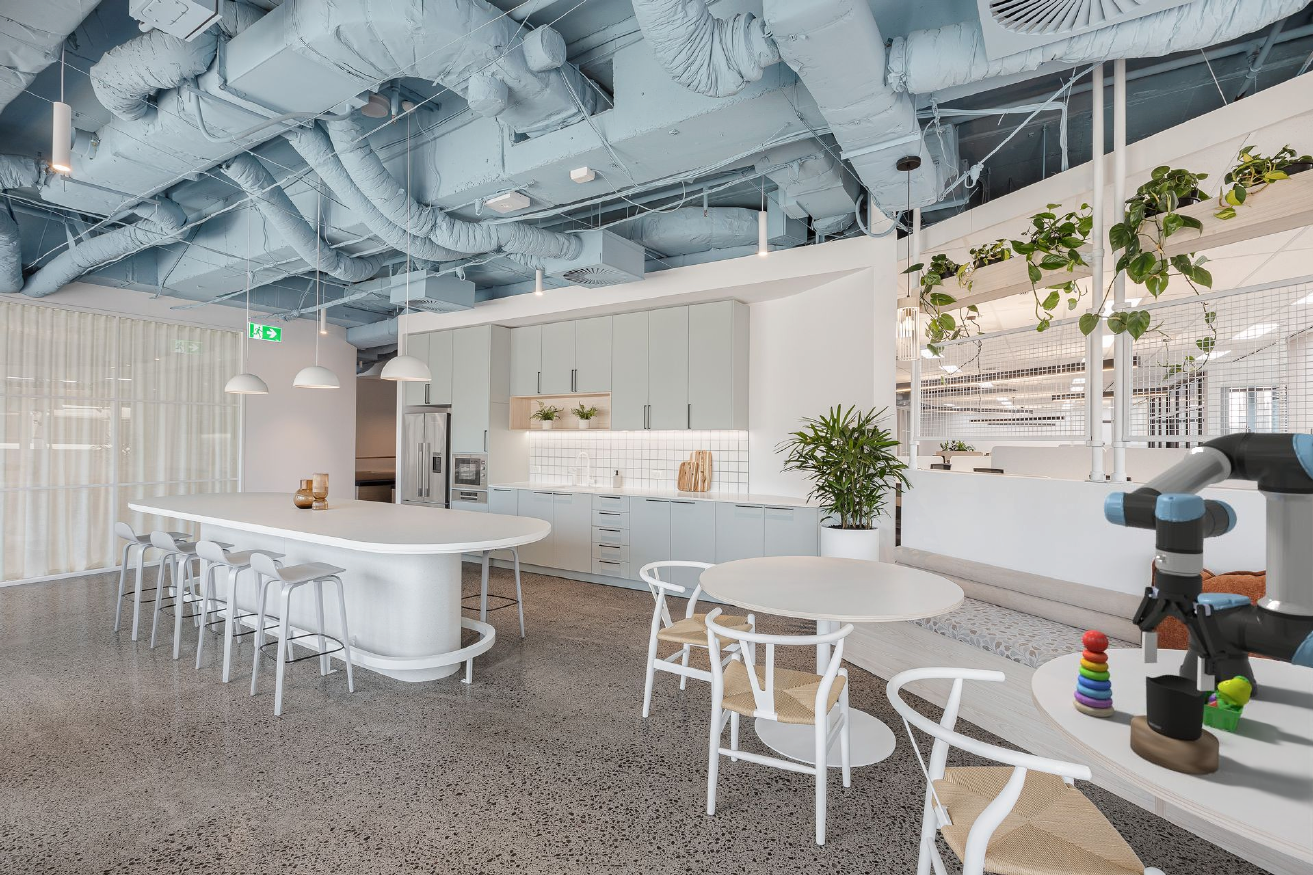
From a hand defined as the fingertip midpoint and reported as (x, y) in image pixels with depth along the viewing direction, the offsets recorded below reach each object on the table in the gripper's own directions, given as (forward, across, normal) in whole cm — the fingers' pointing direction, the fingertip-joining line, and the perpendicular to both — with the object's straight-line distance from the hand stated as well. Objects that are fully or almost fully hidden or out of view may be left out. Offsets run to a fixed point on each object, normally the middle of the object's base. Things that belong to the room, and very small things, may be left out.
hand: (1175, 675), depth 132 cm
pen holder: (+12, 0, 0) cm, 12 cm away
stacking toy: (+17, -20, -2) cm, 26 cm away
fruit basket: (+17, -13, +22) cm, 31 cm away
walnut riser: (+16, 0, 0) cm, 16 cm away
